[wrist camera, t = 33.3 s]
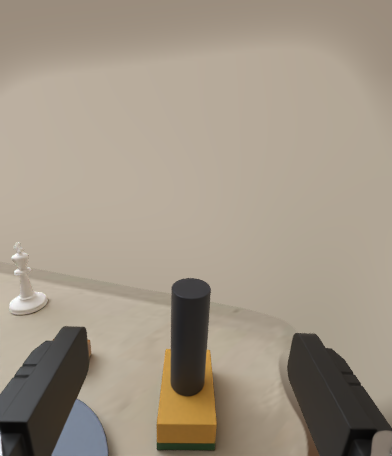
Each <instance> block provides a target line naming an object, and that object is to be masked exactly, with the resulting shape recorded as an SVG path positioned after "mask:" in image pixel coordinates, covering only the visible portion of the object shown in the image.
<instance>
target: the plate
mask: <svg viewBox="0 0 392 456" xmlns="http://www.w3.org/2000/svg"><path fill="white" fill-rule="evenodd" d="M51 456H109V452H108V445H107V440H106V435H105V432H104V429H103V427H102V424H101V423H100V421H99V419H98V417H97V416H96V414H95V413H94V412H93V411H92V410H91V408H89V407H88V406H87V405H86V404H85V403H83V402H82V401H80V400H78V399H77V398H76V401H75V403H74V405H73V408H72V410H71V412H70V414H69V417H68V419H67V421H66V423H65V426H64V428H63V430H62V433H61V435H60V437H59V439H58V442H57V444H56V446H55V449H54V451H53V453H52V455H51Z"/></svg>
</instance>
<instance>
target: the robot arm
mask: <svg viewBox="0 0 392 456" xmlns="http://www.w3.org/2000/svg"><path fill="white" fill-rule="evenodd" d="M88 368H89V351H88V341H87V332H86V328H85V327H69V326H64V327H63V328H62V329H61V330H60V331H59V333H58V334H57V336H56V337H55V339H54V340H53V341H45V342H44V343H42V344H41V345H40V346H39V347H37V348H36V349H35V350H33V351H32V352H31V354H30V355H29V356H28V358H27V359H26V360H25V362H24V363H23V366H22V367H20V369H19V370H18V371H17V373H16V374H15V377H14V378H12V379H11V381H10V382H9V383H8V385H7V386H6V387H5V389H4V390H3V391H2V393H1V394H0V456H51V455H52V453H53V451H54V449H55V446H56V444H57V442H58V439H59V437H60V435H61V433H62V430H63V428H64V426H65V423H66V421H67V419H68V417H69V414H70V412H71V410H72V408H73V405H74V403H75V401H76V398H77V396H78V394H79V392H80V389H81V387H82V385H83V383H84V380H85V378H86V375H87V372H88ZM287 368H288V377H289V381H290V384H291V386H292V388H293V391H294V393H295V396H296V398H297V401H298V403H299V406H300V408H301V411H302V413H303V416H304V418H305V420H306V423H307V425H308V428H309V430H310V433H311V435H312V438H313V440H314V443H315V445H316V448H317V450H318V452H319V455H320V456H392V428H391V426H390V425H389V424H388V422H387V421H386V419H385V418H384V416H383V415H382V413H381V412H380V411H379V409H378V408H377V406H376V405H375V403H374V402H373V400H372V399H371V398H370V396H369V395H368V393H367V392H366V390H365V389H364V387H363V386H361V383H360V382H359V380H358V379H357V377H356V376H355V375H353V372H352V370H351V369H350V367H349V366H348V364H347V363H346V361H345V360H344V359H343V358H342V357H341V356H339V355H338V354H337V353H336V352H335V351H334V350H332V349H329V348H325V346H324V345H323V343H322V342H321V340H320V339H319V337H318V336H317V335H316V334H306V333H295V334H294V336H293V340H292V345H291V350H290V355H289V360H288V366H287Z"/></svg>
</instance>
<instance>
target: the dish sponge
mask: <svg viewBox="0 0 392 456" xmlns="http://www.w3.org/2000/svg"><path fill="white" fill-rule="evenodd" d="M210 293H211V289H210V286H209V285H208V284H207V283H206V282H204V281H202V280H199V279H194V278H187V279H181V280H179V281H177V282H175V283H174V284H173V286H172V300H171V349H166V351H165V359H164V368H163V376H162V384H161V393H160V401H159V409H158V417H157V450H215V438H216V427H217V422H216V411H215V399H214V388H213V377H212V366H211V355H210V350H207V338H208V323H209V308H210Z"/></svg>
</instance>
